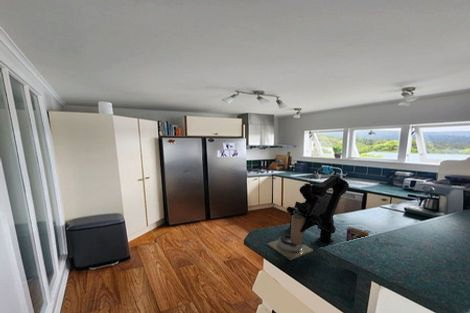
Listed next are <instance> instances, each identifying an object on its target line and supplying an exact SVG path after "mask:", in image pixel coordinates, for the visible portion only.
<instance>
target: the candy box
mask: <svg viewBox="0 0 470 313" xmlns="http://www.w3.org/2000/svg"><path fill="white" fill-rule="evenodd" d="M369 234H370V233H369V231H366V230H362V229H359V228H356V227H355V228H354V227H352V226H348V227H347V228H346V238H345V242H346V241H349V240H353V239H357V238H361V237H365V236H368V237H369Z"/></svg>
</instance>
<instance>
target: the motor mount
mask: <svg viewBox="0 0 470 313" xmlns="http://www.w3.org/2000/svg"><path fill="white" fill-rule="evenodd" d="M290 240H291V234H283V235H280V236H279V237H278V238H277V240H276V239H275V240H273V241H270V242H268V243H267V246H269V247H270V248H271V249H273V250H274V251H276V252H277V253H279V254H280V255H282V256H284V258H286V259H288V260H289V261H293V260H295V259H299V258H300V257H302V256H305V255H308V254H310V253H312V252H314V249H313V248H311V247H309V246H307V245H306V244H304V243H302V244H301V245H296V244H293V243H291V241H290Z"/></svg>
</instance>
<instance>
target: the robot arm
mask: <svg viewBox="0 0 470 313" xmlns="http://www.w3.org/2000/svg"><path fill="white" fill-rule="evenodd" d="M349 186H350V184H349V182H347V180H345V179H343V178H341V176H338V175H330V177H328V178H327V179H325V180H324V181H322V182H320V183H314V184H312V185H311V183H306V184H304V185H302V186H300V187H299V193H300V194H301V196H302V198H303V199H304V200H305V201H304V202H303V201H302V202H300V201H295V204H294V206H287V208H286V209H285V210H286V211H287V214H289V215H290V224H289V228H290V229H291V221H292V215H294V214H301V215H302V216H303V217H304V218H306V221H305V223H304V225H303V227H302V228H301V231H300V232H301V233H302V232H303V233H304V232H306V231H307V230H308V229H310V228H312V227H317V229H318V230H320V234H319V237H317V240H319V241H321V242H323V243H324V244H330V243H332V242H334V240H333V239H332V234H335V232H336V230H337V229H336V227H335V225H334V224H335V221H334V215H335V212H336V210H337V208H338V204H339V203H340V202H339V201H340V199H341V197H342V196H343V195H345V194H346V193H347V191H348V189H349ZM331 188H332V194H331V197H330V198H329V201H328V203H327V206H326V208H325V210H324V212H323V213H320V214H319V215H316V214H313V213H315V209H316V206H317V205H318V204H321V201H320V198H323V197H324V196H326V194H327V191H328V190H329V189H331ZM319 197H320V198H319ZM293 207H295V208H298V209H297V210H298V211H299V212H297V211H296V209H295V208H293Z"/></svg>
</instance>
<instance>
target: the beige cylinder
mask: <svg viewBox="0 0 470 313" xmlns="http://www.w3.org/2000/svg"><path fill="white" fill-rule="evenodd" d="M290 223H291V228H290V235H291V240H290V241H291V243H293V244H296V245H301V244H302V243H303V242H304V232H302V233H301V232H300V231H301V228H302V227H303V225H304V217H303V216H302V215H301V214H294V215H292V221H291V220H290ZM303 244H304V243H303Z"/></svg>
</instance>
